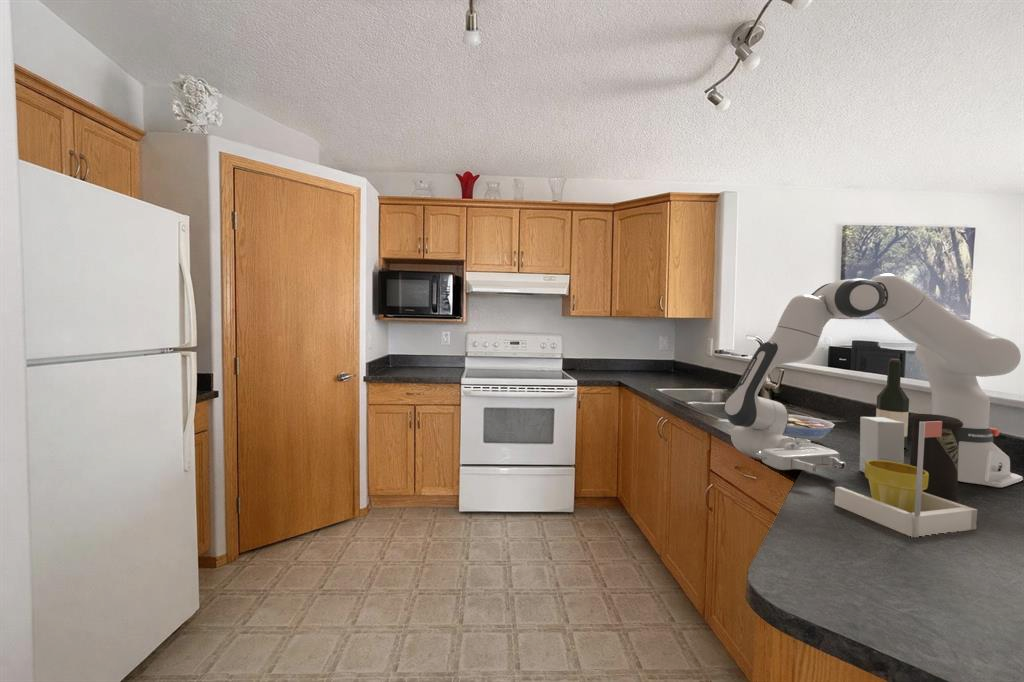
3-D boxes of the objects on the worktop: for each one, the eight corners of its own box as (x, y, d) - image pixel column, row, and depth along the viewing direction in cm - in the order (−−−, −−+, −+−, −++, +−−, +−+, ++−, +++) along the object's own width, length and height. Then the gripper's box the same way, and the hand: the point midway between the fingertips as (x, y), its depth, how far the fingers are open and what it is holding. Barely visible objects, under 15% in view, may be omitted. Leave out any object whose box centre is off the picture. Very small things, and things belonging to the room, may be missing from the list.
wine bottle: (913, 449, 145) (918, 360, 144) (888, 449, 145) (893, 359, 144) (892, 442, 153) (896, 358, 152) (868, 442, 153) (872, 357, 152)
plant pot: (912, 505, 98) (914, 463, 97) (936, 525, 88) (939, 477, 88) (856, 498, 102) (858, 456, 101) (873, 515, 92) (875, 470, 92)
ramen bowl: (854, 449, 144) (855, 424, 144) (797, 452, 139) (798, 426, 139) (791, 430, 169) (792, 410, 168) (740, 432, 164) (741, 411, 163)
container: (949, 509, 96) (954, 420, 95) (898, 495, 104) (903, 412, 103) (965, 502, 100) (970, 417, 99) (915, 489, 108) (919, 410, 107)
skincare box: (904, 482, 113) (907, 423, 113) (875, 480, 114) (878, 421, 114) (883, 471, 121) (886, 416, 121) (856, 469, 123) (859, 415, 122)
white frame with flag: (891, 498, 102) (896, 405, 101) (976, 529, 87) (982, 420, 86) (834, 504, 98) (839, 407, 97) (912, 537, 83) (919, 423, 82)
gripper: (751, 441, 118) (796, 457, 105) (810, 438, 123) (860, 452, 110) (750, 464, 119) (794, 482, 105) (809, 460, 124) (859, 477, 110)
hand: (829, 467), depth 108 cm, fingers open, 8 cm apart
